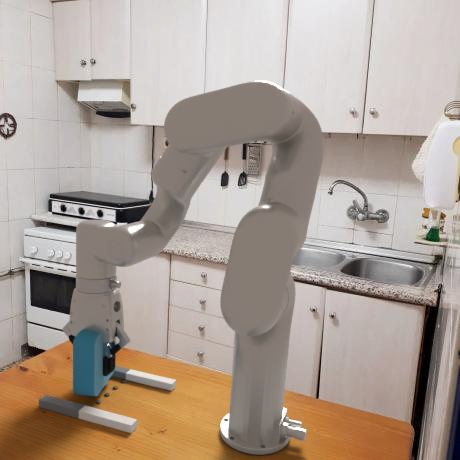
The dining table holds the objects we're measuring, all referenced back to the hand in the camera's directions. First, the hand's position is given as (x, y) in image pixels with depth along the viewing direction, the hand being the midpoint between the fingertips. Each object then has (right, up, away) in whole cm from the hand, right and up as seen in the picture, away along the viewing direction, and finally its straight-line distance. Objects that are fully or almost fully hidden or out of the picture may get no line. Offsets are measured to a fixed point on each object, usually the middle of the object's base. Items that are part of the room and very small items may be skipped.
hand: (95, 369), depth 93 cm
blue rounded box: (0, -3, +1) cm, 3 cm away
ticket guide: (+3, -5, 0) cm, 6 cm away
